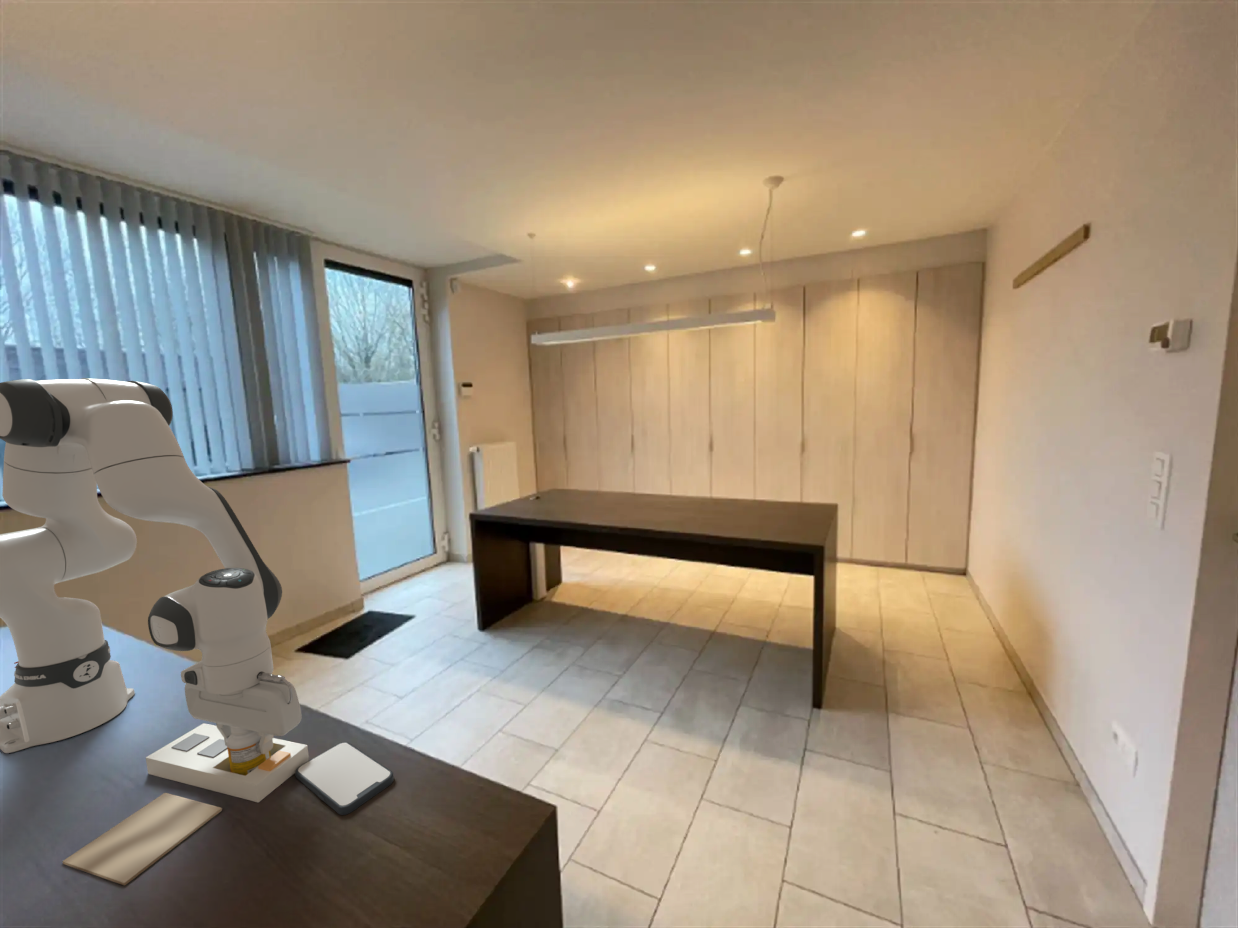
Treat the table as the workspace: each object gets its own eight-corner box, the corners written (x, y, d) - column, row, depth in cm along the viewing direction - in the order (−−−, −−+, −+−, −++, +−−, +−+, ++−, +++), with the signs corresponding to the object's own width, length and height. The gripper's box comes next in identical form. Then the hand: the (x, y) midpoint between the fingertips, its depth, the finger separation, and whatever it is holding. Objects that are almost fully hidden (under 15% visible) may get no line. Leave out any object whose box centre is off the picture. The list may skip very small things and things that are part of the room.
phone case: (292, 778, 81) (342, 820, 72) (291, 769, 81) (341, 810, 72) (346, 746, 89) (398, 781, 80) (345, 738, 88) (397, 772, 80)
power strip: (148, 773, 82) (145, 754, 81) (205, 737, 91) (203, 720, 90) (258, 802, 76) (255, 781, 75) (309, 760, 84) (307, 742, 84)
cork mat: (62, 863, 66) (62, 860, 66) (165, 794, 77) (164, 792, 77) (124, 885, 63) (124, 882, 63) (222, 810, 74) (221, 807, 74)
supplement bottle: (246, 762, 84) (239, 709, 83) (279, 759, 85) (272, 707, 83) (223, 786, 79) (216, 731, 78) (259, 783, 79) (252, 728, 78)
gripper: (307, 666, 80) (315, 744, 81) (213, 652, 85) (223, 725, 87) (270, 688, 74) (280, 772, 75) (172, 671, 79) (183, 749, 81)
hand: (249, 747), depth 81 cm, fingers closed on supplement bottle, 5 cm apart
